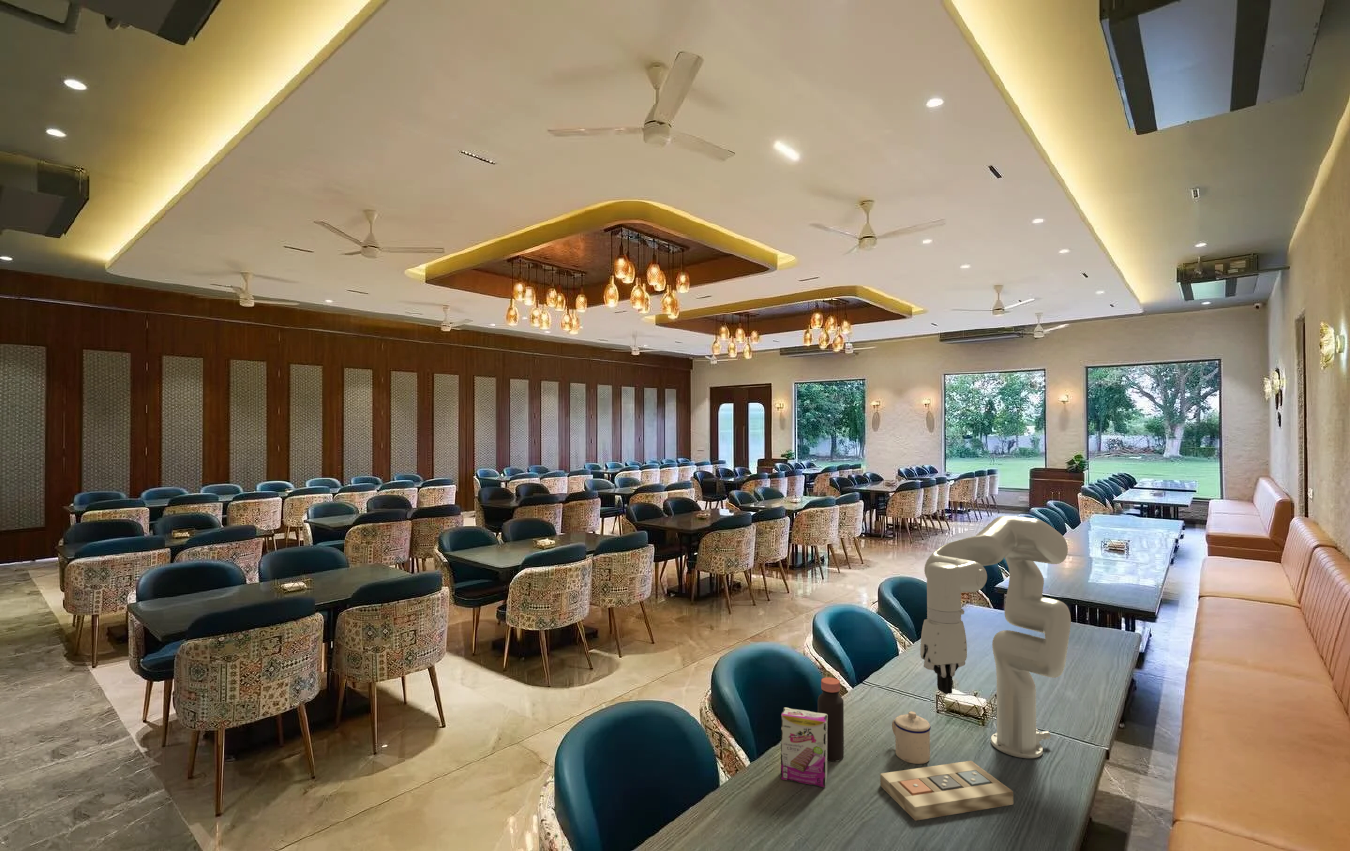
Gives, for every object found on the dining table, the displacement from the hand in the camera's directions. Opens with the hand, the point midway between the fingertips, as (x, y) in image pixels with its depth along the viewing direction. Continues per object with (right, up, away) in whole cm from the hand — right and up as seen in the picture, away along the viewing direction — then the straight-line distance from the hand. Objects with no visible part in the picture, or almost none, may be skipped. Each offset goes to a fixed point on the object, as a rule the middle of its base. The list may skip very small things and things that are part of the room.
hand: (944, 691), depth 148 cm
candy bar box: (-33, -25, +6) cm, 41 cm away
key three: (0, -24, 0) cm, 24 cm away
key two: (+8, -24, +1) cm, 26 cm away
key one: (-8, -24, -2) cm, 26 cm away
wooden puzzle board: (0, -25, 0) cm, 25 cm away
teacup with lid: (-2, -25, +19) cm, 31 cm away
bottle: (-23, -25, +18) cm, 38 cm away
